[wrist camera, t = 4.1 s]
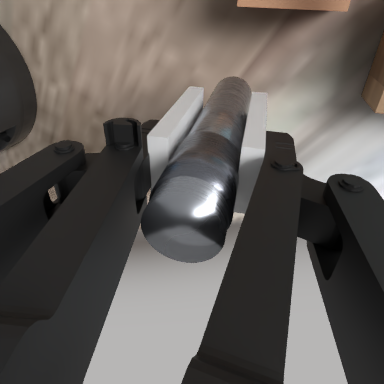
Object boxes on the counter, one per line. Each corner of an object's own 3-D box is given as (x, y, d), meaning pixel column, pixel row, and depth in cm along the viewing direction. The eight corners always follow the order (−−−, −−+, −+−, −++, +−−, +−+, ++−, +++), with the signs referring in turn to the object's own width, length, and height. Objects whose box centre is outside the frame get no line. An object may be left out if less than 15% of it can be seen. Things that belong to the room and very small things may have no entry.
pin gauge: (210, 114, 20) (141, 256, 9) (213, 73, 18) (133, 186, 8) (250, 118, 19) (224, 272, 9) (256, 76, 18) (233, 201, 7)
